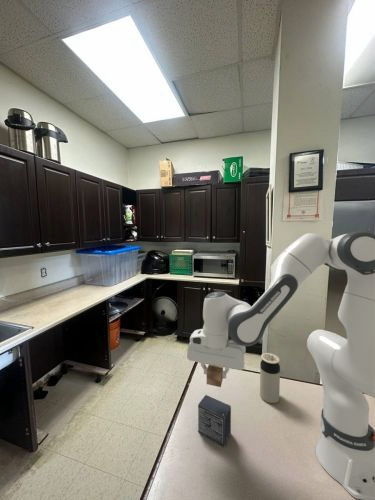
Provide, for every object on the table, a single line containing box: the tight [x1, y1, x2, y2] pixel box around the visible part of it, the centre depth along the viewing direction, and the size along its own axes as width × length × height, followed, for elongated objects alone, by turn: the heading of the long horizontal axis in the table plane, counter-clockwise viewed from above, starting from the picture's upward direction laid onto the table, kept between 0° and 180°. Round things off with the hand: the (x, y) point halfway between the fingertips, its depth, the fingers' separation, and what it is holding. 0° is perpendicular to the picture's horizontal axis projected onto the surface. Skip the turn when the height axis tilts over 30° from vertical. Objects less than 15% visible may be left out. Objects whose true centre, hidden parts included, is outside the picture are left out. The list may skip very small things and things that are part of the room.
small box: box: [197, 394, 232, 447], centre depth 75 cm, size 11×6×10 cm, turn 58°
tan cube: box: [206, 364, 224, 388], centre depth 75 cm, size 5×5×5 cm
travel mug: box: [259, 352, 281, 404], centre depth 92 cm, size 8×8×18 cm
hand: (214, 375), depth 75 cm, fingers closed on tan cube, 5 cm apart
